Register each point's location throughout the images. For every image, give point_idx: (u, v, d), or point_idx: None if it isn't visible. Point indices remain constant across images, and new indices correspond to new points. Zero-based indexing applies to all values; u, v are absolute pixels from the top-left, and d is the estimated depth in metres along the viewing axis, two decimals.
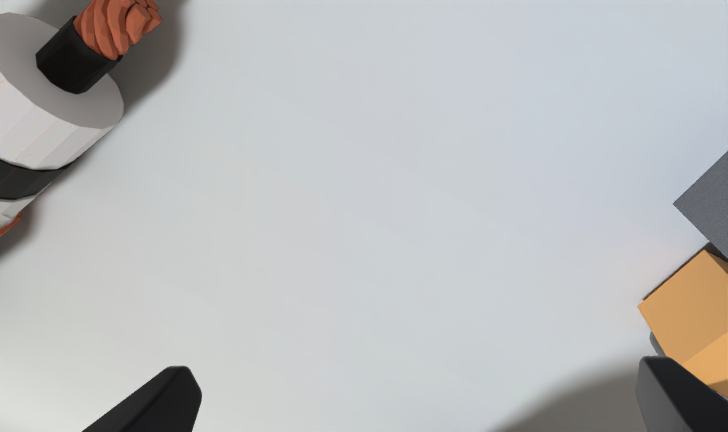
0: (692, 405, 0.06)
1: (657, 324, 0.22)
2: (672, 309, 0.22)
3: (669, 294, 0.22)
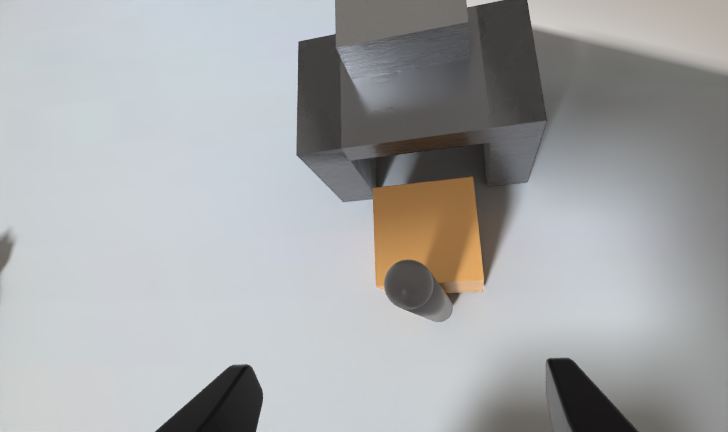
0: (576, 405, 0.06)
1: None
2: None
3: None
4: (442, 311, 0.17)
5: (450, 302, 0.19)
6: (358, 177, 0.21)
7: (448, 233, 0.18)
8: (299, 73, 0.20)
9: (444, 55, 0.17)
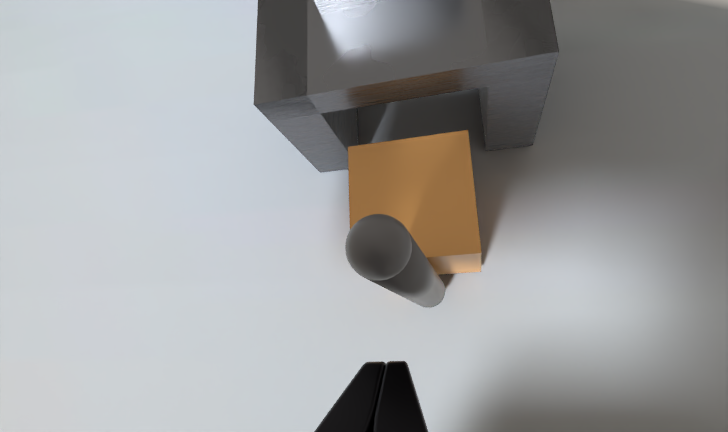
0: (387, 404, 0.07)
1: None
2: None
3: None
4: (430, 291, 0.14)
5: (441, 283, 0.16)
6: (333, 138, 0.18)
7: (438, 198, 0.15)
8: (259, 9, 0.16)
9: None
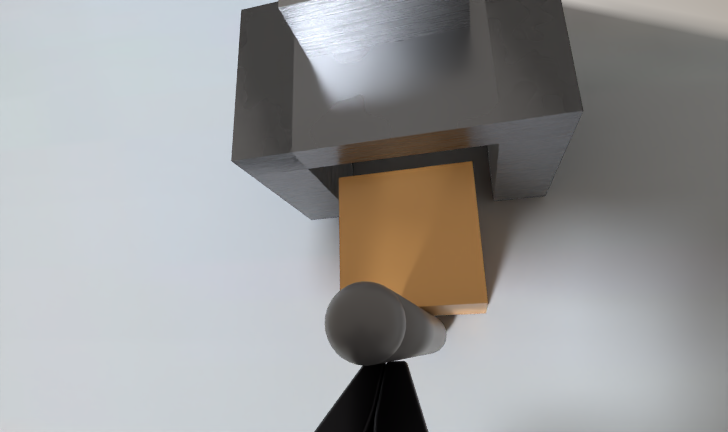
0: (387, 404, 0.07)
1: None
2: None
3: None
4: (429, 348, 0.12)
5: (442, 330, 0.15)
6: (324, 191, 0.16)
7: (439, 238, 0.13)
8: (240, 51, 0.14)
9: (434, 20, 0.12)
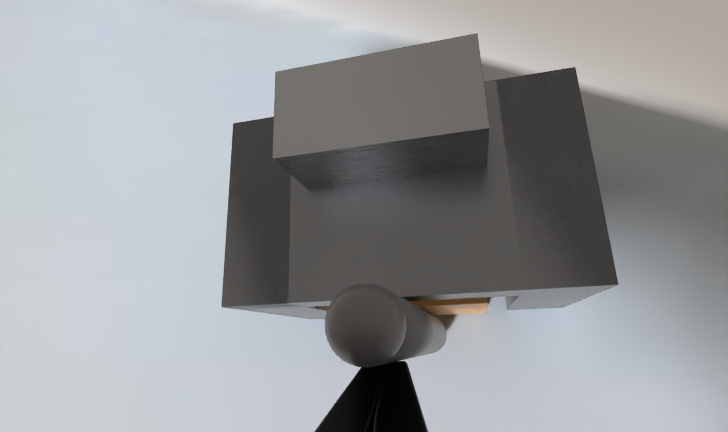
0: (387, 404, 0.07)
1: None
2: None
3: None
4: (429, 348, 0.12)
5: (442, 330, 0.15)
6: (324, 312, 0.15)
7: None
8: (232, 173, 0.13)
9: (447, 164, 0.11)
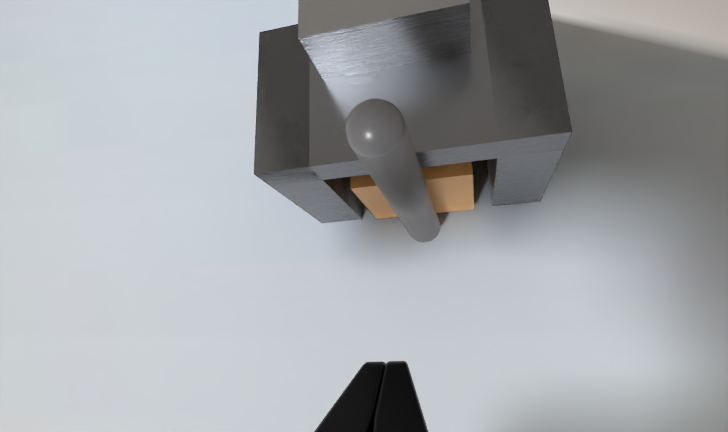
0: (387, 404, 0.07)
1: None
2: None
3: None
4: (424, 208, 0.15)
5: (436, 213, 0.17)
6: (336, 198, 0.17)
7: None
8: (259, 71, 0.16)
9: (438, 47, 0.14)
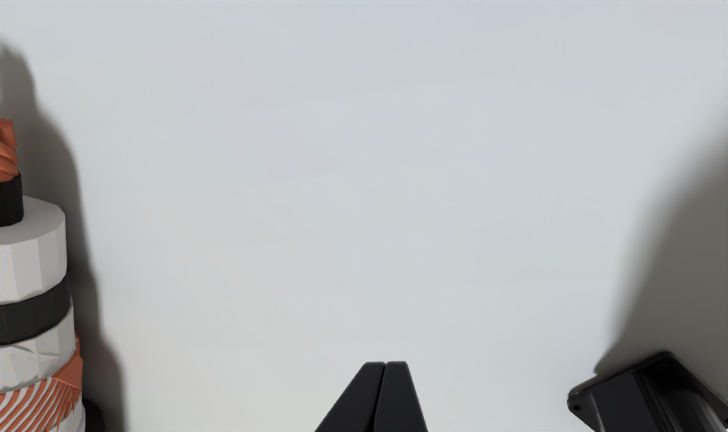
0: (387, 404, 0.07)
1: None
2: None
3: None
4: None
5: None
6: None
7: None
8: None
9: None
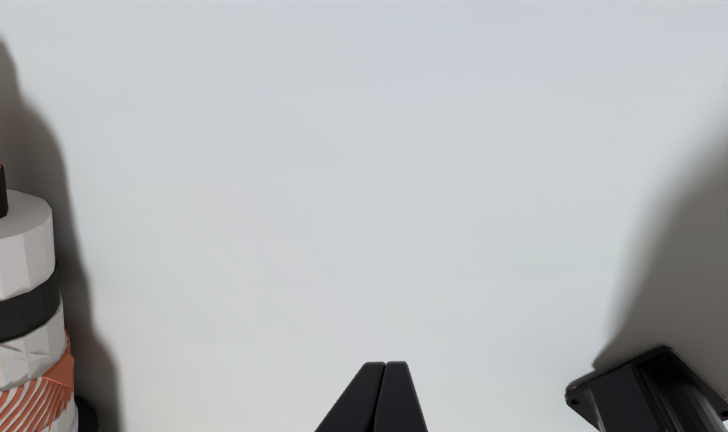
0: (387, 404, 0.07)
1: None
2: None
3: None
4: None
5: None
6: None
7: None
8: None
9: None
